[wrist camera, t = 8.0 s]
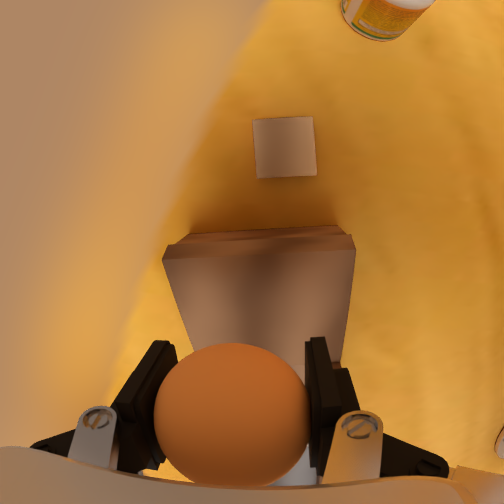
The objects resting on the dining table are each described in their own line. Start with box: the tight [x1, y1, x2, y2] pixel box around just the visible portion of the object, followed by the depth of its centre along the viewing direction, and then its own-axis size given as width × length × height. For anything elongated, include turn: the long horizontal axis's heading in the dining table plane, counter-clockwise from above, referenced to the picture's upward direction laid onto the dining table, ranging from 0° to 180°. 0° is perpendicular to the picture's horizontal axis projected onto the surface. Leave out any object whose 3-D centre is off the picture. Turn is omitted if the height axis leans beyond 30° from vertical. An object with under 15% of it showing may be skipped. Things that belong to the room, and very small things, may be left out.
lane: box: [162, 225, 356, 486], centre depth 25 cm, size 11×33×6 cm, turn 4°
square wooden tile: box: [252, 116, 317, 179], centre depth 21 cm, size 4×4×2 cm
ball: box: [153, 343, 311, 486], centre depth 9 cm, size 5×5×5 cm
